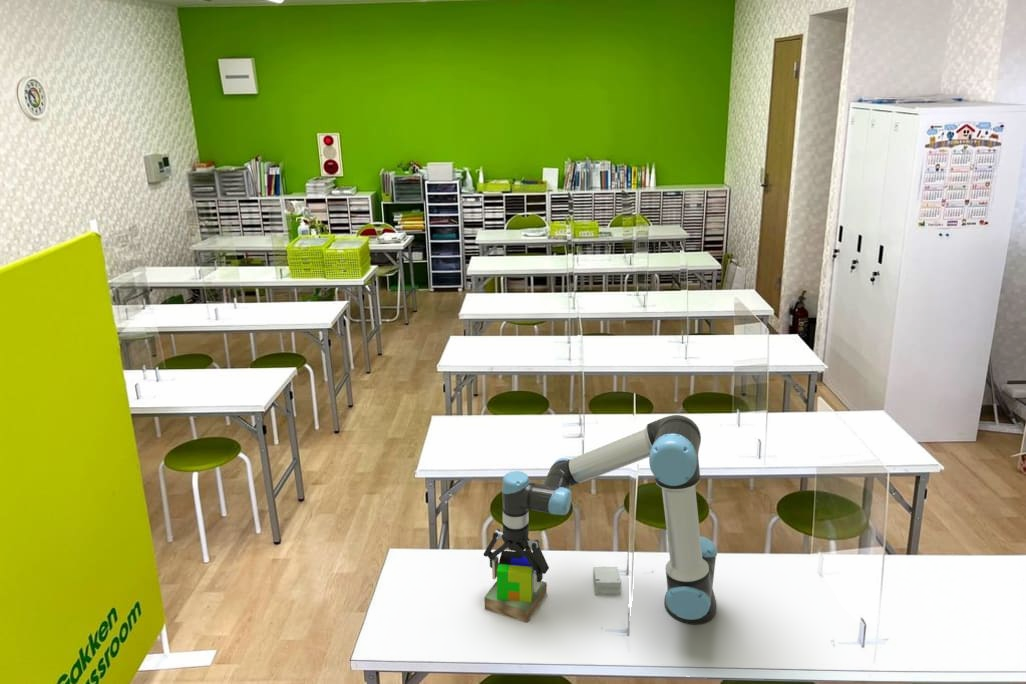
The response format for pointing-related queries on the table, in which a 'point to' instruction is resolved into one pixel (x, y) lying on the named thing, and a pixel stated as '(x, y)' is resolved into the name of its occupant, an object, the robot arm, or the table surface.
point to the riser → (515, 603)
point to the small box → (606, 581)
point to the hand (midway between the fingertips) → (515, 583)
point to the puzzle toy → (514, 577)
